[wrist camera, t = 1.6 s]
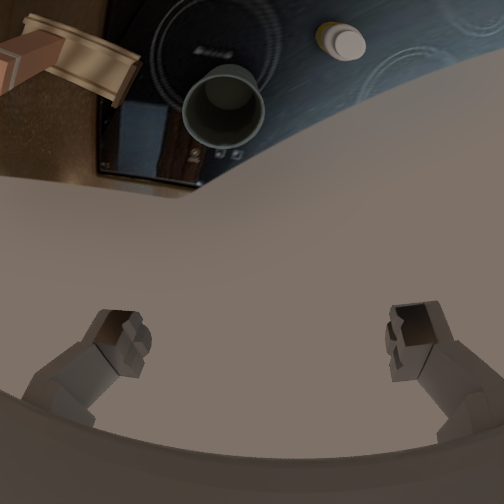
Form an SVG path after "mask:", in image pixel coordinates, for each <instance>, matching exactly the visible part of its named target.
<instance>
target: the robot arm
mask: <svg viewBox="0 0 504 504" xmlns="http://www.w3.org/2000/svg"><path fill="white" fill-rule="evenodd" d="M389 315H390V319H391V321H390V322H389V323H388V324H387V327H386V336H385V341H386V349H387V353H388V354H389V355H390V356H391V361H390V364H389V366H390V371H391V377H392V382H399V381H409V380H416V379H418V382H419V383H420V385H421V386H422V387H423V388H424V389H425V390H426V392H427V393H428V394H429V395H430V396H431V397H432V399H433V400H434V401H435V402H436V404H437V405H438V406H439V407H440V408H441V410H442V411H443V412H444V413H445V415H446V416H447V417H448V418H449V419H448V420H447V421H446V423H445V424H444V425H443V426H442V428H440V430H439V431H438V432H437V439H438V444H434V445H429V446H424V447H419V448H414V449H409V450H402V451H396V452H389V453H381V454H373V455H364V456H353V457H339V458H318V459H277V458H256V457H254V458H253V457H242V456H230V455H220V454H213V453H204V452H197V451H190V450H185V449H178V448H174V447H168V446H163V445H158V444H153V443H149V442H144V441H140V440H136V439H132V438H128V437H124V436H120V435H117V434H113V433H109V432H106V431H103V430H99V429H96V428H93V425H94V422H95V416H93V414H91V413H90V412H89V411H88V410H87V409H88V408H89V407H90V406H91V405H92V404H93V403H94V402H95V401H96V400H97V398H99V397H100V396H101V395H102V393H104V392H105V391H106V390H107V389H108V388H109V387H110V386H111V385H112V384H113V383H114V382H115V381H116V380H117V379H118V378H119V376H126V377H133V378H139V376H140V373H141V371H142V368H143V366H144V360H143V357H144V356H146V355H147V354H148V353H149V351H150V348H151V342H152V338H151V333H150V331H149V329H148V328H147V327H146V326H145V325H143V324H142V321H143V318H142V316H141V315H140V313H139V312H135V311H122V310H106V309H102V310H101V311H99V312H98V314H97V315H96V317H95V319H94V320H93V322H92V324H91V325H90V327H89V329H88V331H87V332H86V334H85V336H84V338H83V339H82V341H81V342H77V343H75V344H74V345H73V346H72V347H70V348H69V349H67V350H66V351H65V352H63V353H62V354H60V355H59V356H58V357H56V358H55V359H54V360H52V361H51V362H50V363H48V364H47V365H46V366H44V367H43V368H42V369H40V370H39V371H38V372H36V373H35V374H34V376H33V378H32V380H31V381H30V383H29V385H28V387H27V389H26V391H25V393H24V395H23V397H22V399H21V400H20V399H18V398H16V397H14V396H12V395H10V394H8V393H6V392H4V391H1V390H0V504H504V379H503V378H502V377H501V376H500V375H499V374H498V373H497V372H495V371H494V370H493V369H492V368H490V367H489V366H488V365H487V364H486V363H485V362H484V361H483V360H481V359H480V358H479V357H478V356H477V355H475V354H474V353H473V352H472V351H471V350H469V349H468V348H467V347H466V346H464V345H463V344H462V343H461V342H460V341H458V340H457V341H454V339H453V336H452V333H451V331H450V328H449V326H448V323H447V321H446V318H445V316H444V313H443V311H442V308H441V306H440V304H439V302H438V301H430V302H422V303H421V302H420V303H411V304H402V305H392V307H391V309H390V313H389Z"/></svg>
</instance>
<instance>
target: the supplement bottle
mask: <svg viewBox="0 0 504 504" xmlns="http://www.w3.org/2000/svg"><path fill="white" fill-rule="evenodd" d="M315 39H316V42H317V44H318V46H319V47H320V48H321V49H322V50H324V51H325V52H327V53H328V54H330V55H331V56H332V57H334V58H336V59H338V60H341V61H350V60H355V59H358V58H360V57H361V56H362V55H363V54H364V52H365V49H366V43H365V40H364V39H363V37H362V35H361V33H360V32H359V31H358V30H357V29H356V28H354V27H352V26H350V25H347V24H343V23H339V22H333V21H330V22H325V23H323V24H322V25H320V26H319V27H318V29H317V31H316V34H315Z"/></svg>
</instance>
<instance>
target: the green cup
mask: <svg viewBox="0 0 504 504" xmlns="http://www.w3.org/2000/svg"><path fill="white" fill-rule="evenodd" d="M264 115H265V107H264V102H263V98H262V96H261V94H260V92H259V89H258V86H257V83H256V80H255V78H254V77H253V75H252V74H251V73H250V72H249V71H248V70H247V69H245V68H243V67H241V66H238V65H234V64H225V65H220V66H218V67H216V68H214V69H212V70H211V71H210V72H209V73H208V74H207V75H205V76H204V77H203V78H202V79H201V80H199V81H198V82H197V83H196V84H195V85H194V86H193V87H192V88H191V89H190V90H189V92H188V94H187V96H186V98H185V100H184V104H183V109H182V116H183V121H184V124H185V127H186V128H187V130H188V132H189V133H190V134H191V135H192V137H194V138H195V139H196V140H197V141H199V142H200V143H202V144H204V145H206V146H209V147H212V148H217V149H229V148H234V147H238V146H240V145H243V144H245V143H246V142H248V141H249V140H250V139H252V138H253V137H254V136H255V135H256V134H257V132H258V131H259V129H260V127H261V126H262V124H263V120H264Z"/></svg>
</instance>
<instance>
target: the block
mask: <svg viewBox="0 0 504 504" xmlns="http://www.w3.org/2000/svg"><path fill="white" fill-rule="evenodd" d="M64 40H65V38H63V37H60V36H58V35H55V34H52V33H49V32H47V31H44V30H41V29H39V30H36V31H33V32H30V33H27V34H24V35H21V36H18V37H16V38H13V39H10V40H8V41H5V42H3V43H0V96H1V95H2V94H4V93H5V92H7V91H9V90H11V89H13V87H15V86H17V85H18V84H20V83H22V82H23V81H25V80H27V79H28V78H30V77H32V76H34V75H36V74H37V73H39V72H41V71H43V70H45V69H47V68H49V67H51V66H53V65H54V64H55V63H56V60H57V58H58V55H59V52H60V50H61V47H62V45H63V42H64Z"/></svg>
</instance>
